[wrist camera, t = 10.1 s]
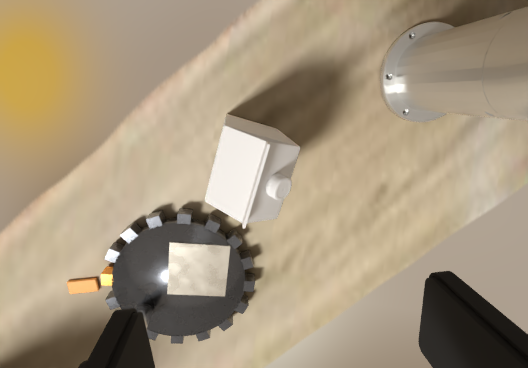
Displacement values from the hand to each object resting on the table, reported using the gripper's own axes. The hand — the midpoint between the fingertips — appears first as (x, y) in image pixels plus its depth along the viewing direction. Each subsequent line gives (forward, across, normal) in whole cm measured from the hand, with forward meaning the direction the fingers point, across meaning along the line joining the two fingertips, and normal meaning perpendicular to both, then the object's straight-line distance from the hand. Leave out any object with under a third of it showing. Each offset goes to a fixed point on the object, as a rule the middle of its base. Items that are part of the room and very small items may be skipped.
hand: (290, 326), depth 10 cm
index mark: (+33, +26, +19) cm, 46 cm away
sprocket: (+33, +11, +19) cm, 40 cm away
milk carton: (+33, 0, 0) cm, 33 cm away
